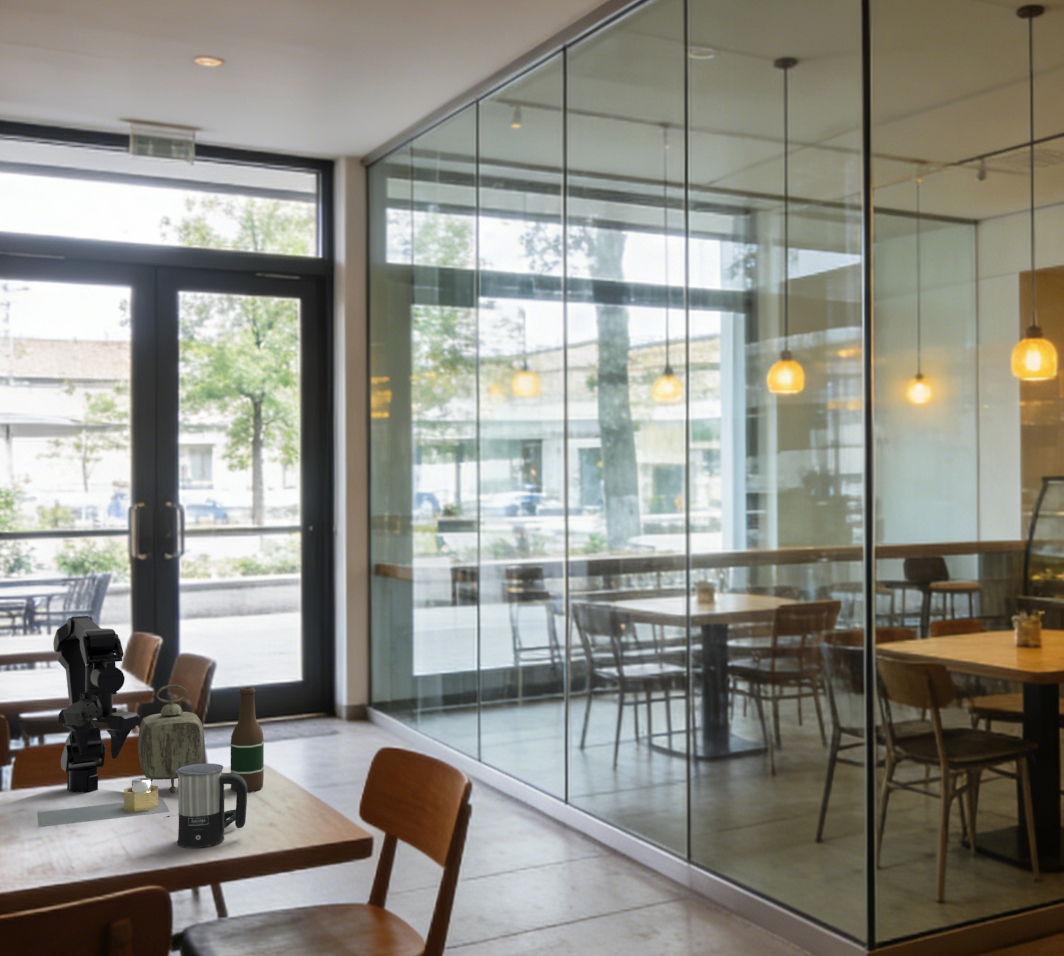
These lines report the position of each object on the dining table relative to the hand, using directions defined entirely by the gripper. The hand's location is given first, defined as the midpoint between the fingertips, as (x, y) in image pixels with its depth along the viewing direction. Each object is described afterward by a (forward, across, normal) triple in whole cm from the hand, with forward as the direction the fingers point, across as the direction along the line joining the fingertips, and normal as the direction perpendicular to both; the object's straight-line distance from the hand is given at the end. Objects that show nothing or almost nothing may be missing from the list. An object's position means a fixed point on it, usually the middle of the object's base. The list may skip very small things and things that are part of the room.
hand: (98, 756), depth 250 cm
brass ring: (+10, +11, +1) cm, 15 cm away
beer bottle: (+12, +20, +27) cm, 36 cm away
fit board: (+12, +6, -5) cm, 14 cm away
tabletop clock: (+12, +4, +18) cm, 23 cm away
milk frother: (+12, +36, -6) cm, 38 cm away
